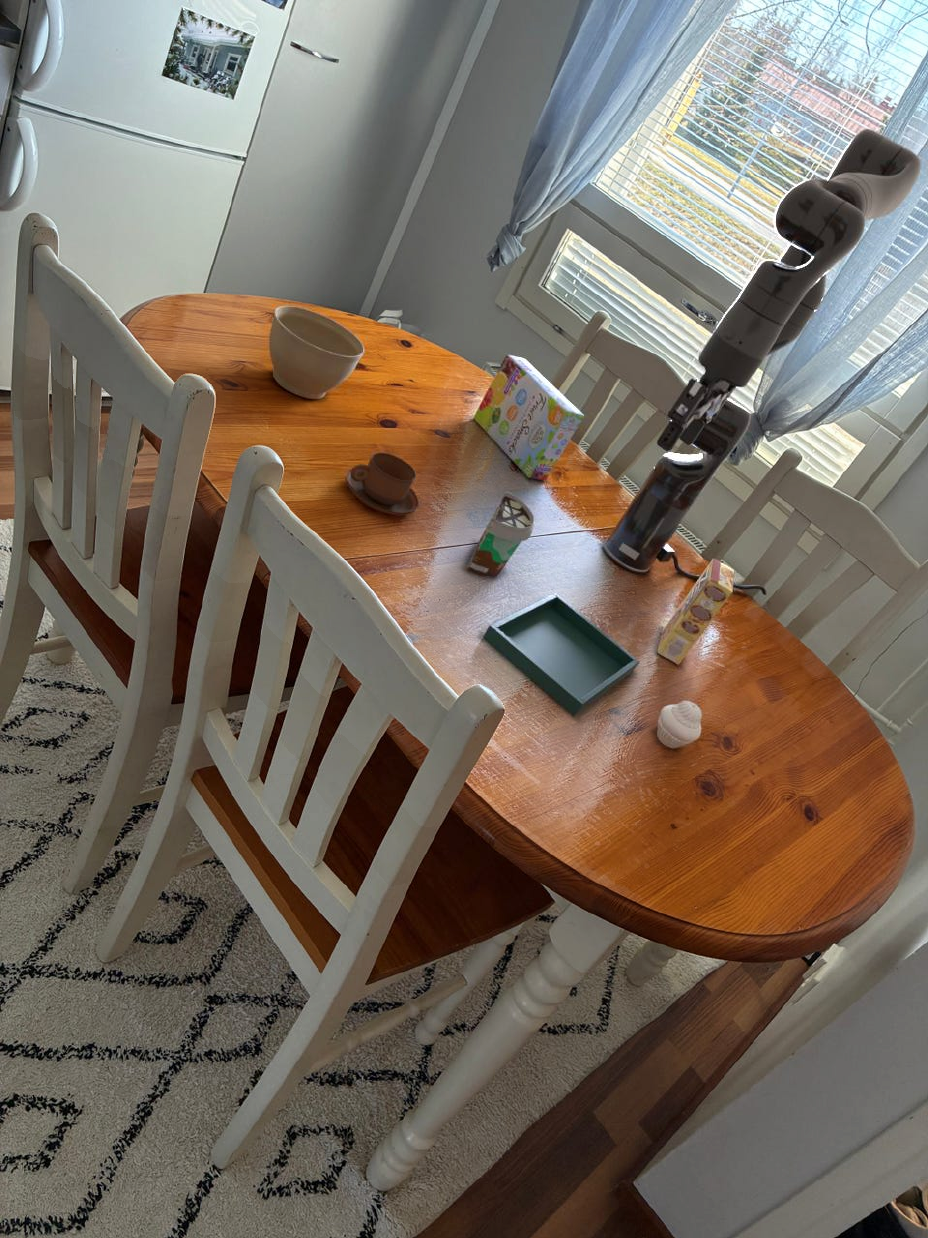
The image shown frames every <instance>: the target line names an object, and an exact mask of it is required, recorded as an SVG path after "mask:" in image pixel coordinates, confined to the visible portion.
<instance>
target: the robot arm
mask: <svg viewBox="0 0 928 1238" xmlns="http://www.w3.org/2000/svg"><path fill="white" fill-rule="evenodd" d="M921 161H922V160H921V158H920V157H919V156H918V155H917V154H916V153H915V152H914V151H912V150H910V149H909V148H907V147H906V146H905V147H904V146H903V145H901V144H900V143H898V142H895V140H894V141H893V140H892V139H890V138H888V137H886V136H885V135H883V134H881V133H879V132H877V131H875V130H873V129H871V128H865V129H862V130H860V131H859V132H858V133H857V134H856V135H855V136H853V138H852V139H851V140H850V142H849V143H848V145H847V146H845V149H844V150H843V152H842V154H841V155H840V157H839V158H838V160H837V161H836V163H835V165H834V167H833V168H832V170H831V172H830V174H829V176H828V177H827V179H826V178H825V179H823V178H811V179H807V180H804V181H801V182H800V183H798V184H796V185H794V187H792V188H791V189H790V190H789V191H788V192H786V193H785V195H784V196H783V197H782V198H781V200H780V202H778V205H777V207H776V210H775V212H774V217H773V225H774V229H775V232H776V233H777V235H778V236H779V237H780V238H781V239H782V240H784V241H785V242H787V243H788V245H787V247H786V248H785V250H784V251H783V253H782V254H781V255H780V257H779V259H778V260H774V259H765V260H763V261H761V262H760V263H759V264H758V265H757V267H756V268H755V270H754V271H753V272H752V274H751V276H750V278H749V279H748V281H747V282H746V284H745V286H744V287H743V289H742V291H741V292H740V293H739V295H738V297H737V298H736V299H735V301H733V303H732V305H731V306H730V307H729V308H728V309H727V310H726V312H725V314H724V315H723V317H722V319H721V320H720V321H719V323H718V324H717V326H716V327H715V329H714V330H713V332H712V334H711V336H710V337H709V339H708V340H707V342H706V344H705V345H704V346H703V347H702V350H700V353H699V355H698V357H697V360H698V363H699V364H700V366H701V367H703V368H704V370H705V371H704V373H703V374H702V375H701V376H700V378H695V377H691V378H690V379H689V380H688V383H687V384H686V386H685V387H684V389H683V390H682V392H681V393H680V395H679V396H678V397H677V399H676V401H675V402H674V404H673V405H672V407H671V409H670V410H669V411H668V412H667V415H666V417H667V418H668V420H669V421H668V423H667V424H666V427H665V428H664V430H663V431H662V433H660V434H661V435H660V436H659V437H658V439H657V441H656V444H657V446H658V447H660V449H663V450H664V451H665V452H666V453H664V454H662V455H661V456H660V457H659V459H658V460H657V462H656V463H655V465H654V466H653V468H652V469H651V471H650V472H649V474H648V475H647V478H645V480H644V482H643V483H642V485H641V486H640V488H639V490H638V491H637V492H636V494H635V496H634V497H633V498H632V499H631V502H630V504H629V505H628V506H627V508H626V509H625V511H624V513H623V514H622V516H621V517H620V518H619V520H618V522H617V523H616V525H615V526H614V527H613V529H612V531H611V532H610V534H609V535H608V537H607V538H606V539H605V541H604V542H603V545H602V546H603V547H602V548H603V549H604V552H605V553H606V555H607V556H608V557H609V558H610V559H611V560H612V561H613V562H615V563H616V564H617V565H619V566H620V567H622V568H624V569H625V570H627V571H630V572H631V573H636V574H645V573H648V571H649V570H650V568H651V567H652V565H653V564H654V562H656V560H658V562H660V563H666V562H669V561H670V560H671V559H672V560H673V567H674V570H676V571H677V572H678V574H680V575H682V576H685V577H687V578H691V579H694V580H698V579H699V578H700V576H701V575H698V574H692V573H689V572H686V571H684V570H683V569H682V568H681V567H680V566H679V560H678V557H677V555H676V554H675V553H676V550H674V549H673V548H672V547H671V546H670V545H669V544H668V543H669V541H670V540H671V539H672V537H673V536H674V534H675V533H676V531H677V529H678V527H679V526H680V524H681V523H682V522H683V520H684V519H685V517H686V516H687V514H688V513H689V511H690V510H691V508H692V507H693V505H694V504H695V503H696V501H697V500H698V498H699V497H700V495H702V492H704V490H705V488H706V487H707V486H708V484H709V483H710V481H711V480H712V479H713V478H714V476H715V474H716V473H717V472H718V470H719V469H720V467H722V466H723V464H724V462H725V461H726V460H727V459H728V457H729V456H730V455H731V453H732V452H733V451H734V450H735V449H736V447H737V446H738V445H739V443H740V442H741V440H742V439H743V437H744V436H745V434H746V433H747V431H748V429H749V426H750V423H751V420H752V419H751V413H750V411H749V410H747V409H746V408H745V407H744V406H741V405H740V404H738V403H736V402H735V401H733V400H732V399H730V397H731V395H732V393H733V392H734V390H735V389H736V388H745V387H746V386H747V385H748V383H749V382H750V381H751V379H752V378H753V376H754V375H755V373H756V371H758V369H759V367H760V366H761V364H762V363H763V361H764V360H765V359H766V357H768V356H770V355H772V354H774V353H776V352H778V351H780V350H781V349H783V348H785V347H787V346H789V345H790V344H791V343H793V342H794V341H795V340H797V339H798V338H799V337H800V335H801V333H802V332H803V331H804V329H805V328H806V326H807V325H808V323H809V322H810V320H811V319H812V318H813V316H814V315H815V313H816V311H817V310H818V308H819V307H820V306H821V304H822V302H823V299H824V295H825V291H826V283H827V273H828V272H829V271H830V270H831V269H832V268H833V267H834V266H836V265H837V264H838V263H839V262H840V261H841V260H843V259H844V258H845V257H846V256H847V255H848V254H849V253H850V252H851V251H853V249H854V248H855V247H856V246H857V245H858V243H859V242H860V241H861V239H862V237H863V235H864V232H865V228H866V227H865V226H866V222H867V221H871V220H875V219H876V220H877V219H880V218H884V217H887V216H889V215H891V214H892V213H893V212H894V211H896V210H897V209H898V207H900V206H901V204H902V203H903V202H904V201H905V199H906V198H907V196H908V195H909V193H910V192H911V190H912V189H913V188H914V186H915V184H916V182H917V180H918V178H919V175H920V173H921V170H922V162H921ZM679 440H680V441H681V442H683V443H684V444H685V445H687V446H691V445H692V447H695V448H697V449H699V450H700V451H703V452H702V453H699V454H681V453H674V452H670V451H672V450H673V449H674V447H675V446H676V444H677V442H678V441H679ZM733 589H737V590H741V591H742V590H744V591H745V590H747V591H749V590H760V591H761V593H762V594H763V595H764V596H767V590H766V588H765V587H764V586H762V585H760V584H751V585H750V584H749V585H742V584H737V583H733Z"/></svg>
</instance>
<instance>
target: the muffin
mask: <svg viewBox="0 0 928 1238" xmlns="http://www.w3.org/2000/svg"><path fill="white" fill-rule="evenodd" d="M702 718H703V713H702V709H701V708H700V707H699V706H698V705H697V704H696V703H694V702H693V701H690V700H682V701H680V702H679V703H677V704H675V703H673V704H667V705H666V706H664V707H663V708H661V710H660V714H659V717H658V720H657V721H658V722H657V730H656V737H657V739H658V740H659V742H660V743H661V744H662V745H664V746H665V747H667V748H669V749H677V748H680V747H683V746H687V745H689V744H691V743H693V742H694V741H697V740H698V739H699V738H700V736H701V735H702V734H701V733H702V725H701V720H702Z"/></svg>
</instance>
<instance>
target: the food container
mask: <svg viewBox="0 0 928 1238" xmlns="http://www.w3.org/2000/svg"><path fill="white" fill-rule="evenodd" d="M534 525H535V517H534V514H533V512H532V511H531V509H530V508H529V507H528V505H526V504H525V502H523V501H522V499H520V498H518V497H517V496H516V495H514V494H513V493H511V492H510V491H507V490H506V491H505V493H504V494H503V497H502V498H501V500H500V502H499V504H498V506H497V507H496V509H495V511H494V513H493V515H492V516H491V519H490V520H489V522H488V524H487V526H486V527H485V529H484V531H483V533H482V534H481V537H480V538H479V540H478V542H477V544H476V546H475V548H474V551H473V554H472V556H471V558H470V561H469V563H468V566H467V568H466V571H468V572H470V573H472V574H475V575H478V576H481V577H488V578H492V577H497V576H498V575H499V574H500V573H501V572H502V571H503V569H504V568H505V567H506V565H507V563H508V562H509V560H510V559H511V557H512V556H513V555H514V553H515V552H516V551H517V549H518V547H519V546H520V545H521V543H522V542H524V541H527V540H529V539H530V537H531V536H532V532H533V529H534Z"/></svg>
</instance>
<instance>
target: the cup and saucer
mask: <svg viewBox="0 0 928 1238" xmlns="http://www.w3.org/2000/svg"><path fill="white" fill-rule="evenodd" d="M416 477H417V473H416V471H415V470H414V468H413V467H412V466H411V465H410V464H409V463H408V462H406V461H405V460H404V459H402V458H400V457H398V456H396V455H393V454H391V453H387V452H375V453H373V454H372V456H371V458H370V460H369V461H368V464H364V463H362V464H361V463H359V464H356V465H355V466H354V467H352V468H350V469H349V470H348V471H347V473H346V485H347V486H348V488H349V490H350V492H351V493H352V494H353V496H355V498H357V499H358V500H359V501H360V502H361V503H363V504H364V505H366V506H367V507H369V508H371V509H373V510H375V511H377V512H379V513H382V514H385V515H390V516H397V517H398V516H401V517H402V516H407V515H410V514H413V513H415V512H416V511H417V509H418V508H419V504H420V502H419V497H418V496H417V494H416V493H415V491H414V490H413V489H412V485H413V483H414V481H415V479H416Z"/></svg>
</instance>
